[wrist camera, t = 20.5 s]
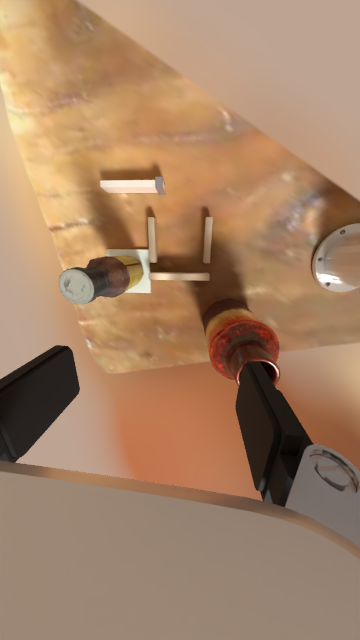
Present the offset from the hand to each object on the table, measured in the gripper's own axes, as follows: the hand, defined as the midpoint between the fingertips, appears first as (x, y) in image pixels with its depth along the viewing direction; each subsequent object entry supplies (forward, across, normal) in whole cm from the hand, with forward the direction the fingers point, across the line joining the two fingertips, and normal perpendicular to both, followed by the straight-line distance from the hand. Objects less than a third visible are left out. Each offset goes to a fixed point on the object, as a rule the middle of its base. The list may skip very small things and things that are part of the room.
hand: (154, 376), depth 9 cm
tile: (+31, +13, -3) cm, 33 cm away
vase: (+32, -9, +8) cm, 34 cm away
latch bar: (+31, +11, -18) cm, 37 cm away
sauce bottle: (+30, +12, -3) cm, 33 cm away
